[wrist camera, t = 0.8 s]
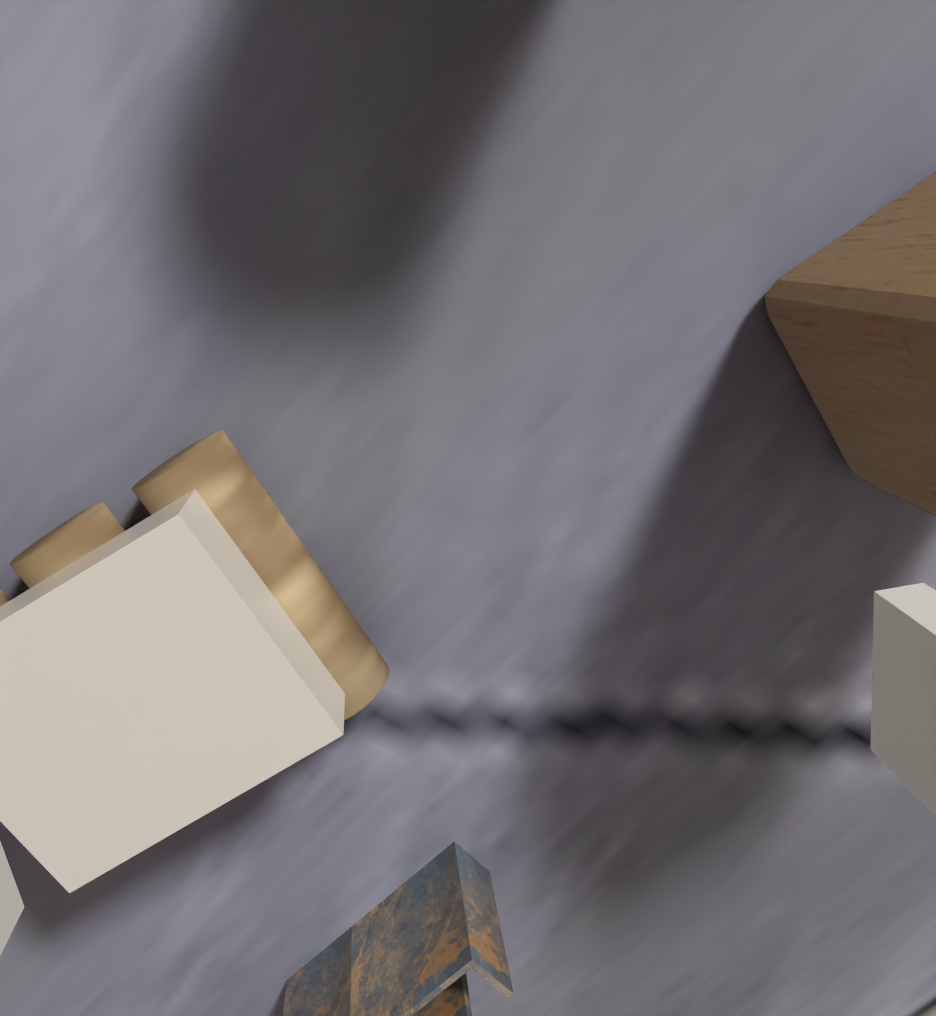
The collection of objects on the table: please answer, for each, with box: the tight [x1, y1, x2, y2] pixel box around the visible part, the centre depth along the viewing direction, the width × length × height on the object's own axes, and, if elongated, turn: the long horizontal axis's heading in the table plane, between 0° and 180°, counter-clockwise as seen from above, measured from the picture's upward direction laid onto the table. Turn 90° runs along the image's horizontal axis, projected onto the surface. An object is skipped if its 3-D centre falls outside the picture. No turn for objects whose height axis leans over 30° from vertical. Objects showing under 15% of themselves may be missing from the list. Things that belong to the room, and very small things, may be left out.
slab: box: [0, 489, 345, 893], centre depth 32 cm, size 10×12×3 cm
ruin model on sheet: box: [283, 842, 513, 1016], centre depth 39 cm, size 11×3×10 cm, turn 132°
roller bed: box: [0, 430, 389, 721], centre depth 36 cm, size 13×27×4 cm, turn 121°
